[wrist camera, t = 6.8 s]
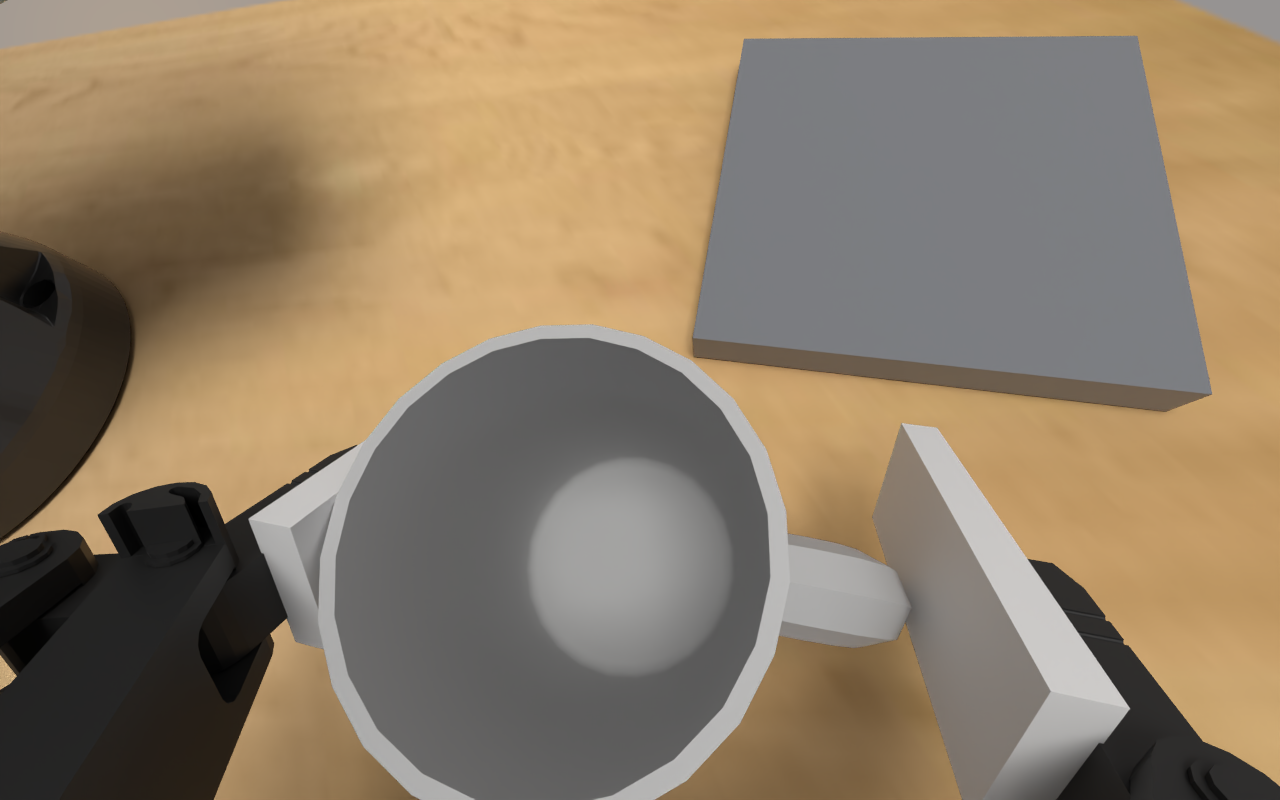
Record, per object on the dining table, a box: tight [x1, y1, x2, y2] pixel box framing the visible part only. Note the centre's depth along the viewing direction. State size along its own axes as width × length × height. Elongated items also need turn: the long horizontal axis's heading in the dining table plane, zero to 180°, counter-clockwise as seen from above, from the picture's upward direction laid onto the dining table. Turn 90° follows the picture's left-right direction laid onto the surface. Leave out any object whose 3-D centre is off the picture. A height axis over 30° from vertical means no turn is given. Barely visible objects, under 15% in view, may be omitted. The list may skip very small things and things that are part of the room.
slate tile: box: [693, 36, 1212, 411], centre depth 18 cm, size 15×15×2 cm
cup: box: [318, 325, 912, 800], centre depth 11 cm, size 7×10×9 cm
